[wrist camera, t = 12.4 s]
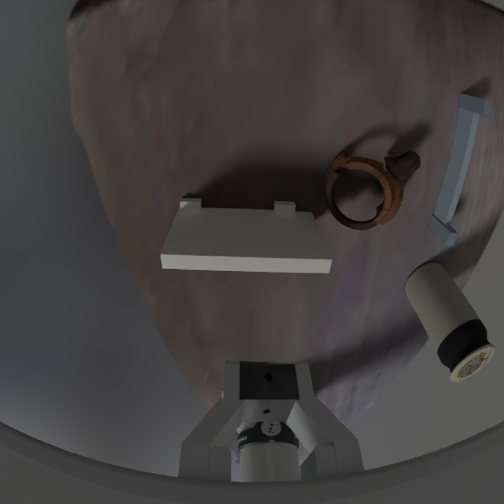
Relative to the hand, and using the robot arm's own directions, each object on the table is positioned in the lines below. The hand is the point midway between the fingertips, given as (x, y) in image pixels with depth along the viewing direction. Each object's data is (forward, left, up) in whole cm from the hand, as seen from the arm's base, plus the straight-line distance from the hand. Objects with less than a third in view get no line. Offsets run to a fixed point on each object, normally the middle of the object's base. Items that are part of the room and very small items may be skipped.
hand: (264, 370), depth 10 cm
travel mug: (-17, -30, -26) cm, 43 cm away
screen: (-7, 0, -26) cm, 27 cm away
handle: (+3, -27, -26) cm, 37 cm away
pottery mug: (-1, -14, -26) cm, 30 cm away
